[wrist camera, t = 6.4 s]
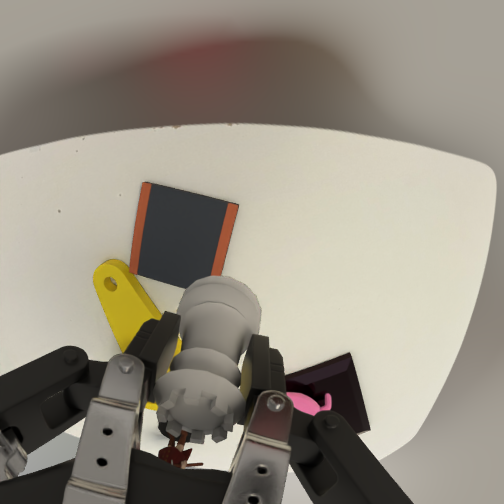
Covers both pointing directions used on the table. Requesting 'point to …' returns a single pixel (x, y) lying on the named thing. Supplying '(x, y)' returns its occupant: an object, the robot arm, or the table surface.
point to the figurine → (176, 448)
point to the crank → (125, 304)
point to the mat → (180, 235)
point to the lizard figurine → (330, 391)
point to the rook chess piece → (208, 359)
